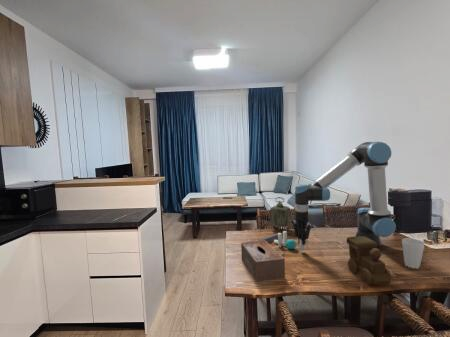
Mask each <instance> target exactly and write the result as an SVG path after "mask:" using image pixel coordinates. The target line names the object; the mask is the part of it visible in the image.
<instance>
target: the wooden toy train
mask: <svg viewBox="0 0 450 337" xmlns="http://www.w3.org/2000/svg"><path fill="white" fill-rule="evenodd" d="M346 244H348V254H349V259H348V261H347V267H348V270H349V272H350V273H352V274H353V275H357V273H359V274H360V277H361V281H363V283H364V284H365V285H367V286H370V285H372V284H374V285H381V284H387V285H388V284H391V281H392V274H391V272H390V270H388V268H386V264H385V262H383V261H382V260H380V259H381V256H382V251H380V249H379V248H377V243H376V242H375V241H373V240H371V239H369V238H367V237H362V236H357V237H355V236H349V237H348V236H347V237H346Z"/></svg>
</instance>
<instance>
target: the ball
mask: <svg viewBox="0 0 450 337" xmlns="http://www.w3.org/2000/svg"><path fill="white" fill-rule="evenodd" d="M296 246H297V243H296V241H295V239H287V242H286V248H287V249H289V250H294V249H295V248H296Z"/></svg>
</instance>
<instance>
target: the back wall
mask: <svg viewBox="0 0 450 337" xmlns="http://www.w3.org/2000/svg"><path fill="white" fill-rule="evenodd" d="M278 233H279V232H277V233H274V234H272V235H268V236H266V237H263V238H261V239H258V240H257V241H262V240H266V241H267V242H268V243H270V242H274V240H278Z"/></svg>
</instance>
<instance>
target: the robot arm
mask: <svg viewBox="0 0 450 337" xmlns="http://www.w3.org/2000/svg"><path fill="white" fill-rule="evenodd" d="M391 157H392V149H391V147H390V146H389V145H388V144H387V143H385V142H382V141H365V142H363V143H361V144H359V145H357V146H356V147H355V148H354V149H352V150H351V151H350V152H348V153H347V156H346V157H345V158H343V159H342V160H341V161H339V162H338V163H337V164H336V165H334V166H333V167H332V168H330V169H329V170H328V171H327V172H326V173H324V174H322V176H321V177H318V179H316V180H315V181H313V182H312V183H308V184H303V183H301V184H300V183H299V184H296V185H295V187H294V202H295V204H294V210H295V212H294V216H295V218H294V220H291V224H292V226H293V231H294V235H295V238H297V240H298V241H297V242H298V246H299V248H298V249H299V251H304V250H305V245H306V240H308V239H309V237H310V233H311V228H312V226H313V224H312V223H310V222H309V202H311V201H312V202H315V201H316V202H320V201H321V202H324V201H325V202H326V201H329V200H330V199H331V191H330V189H329V188H328V187H330V186H331V185H332V184H334V183H335V182H336V181H337V180H339V179H341V178H342V177H343V176H344V175H346V174H348V172H350V171H351V170H352V169H354V168H355V167H359V166H361V165H362V164H363V165H364V167H365V169H367V178H368V179H367V180H368V193H369V195H368V196H369V207H359V208H358V209H357V213H356V214H357V230H356V234H355V236H354V237H357V236H362V237H367V238H369V239H371V240H373V241H375V242H376V243H377V249H379V248H380V247H382V240H381V238H387V237H390V236H392V235H393V234H394V233H395V231H396V228H397V225H396V223H395V221H394V220H393V219H392V213H391V211H390V209H388V198H387V182H386V180H387V179H386V168H387V167H388V165H389V159H391Z"/></svg>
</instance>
